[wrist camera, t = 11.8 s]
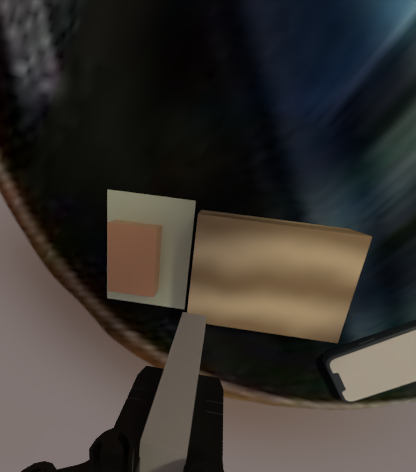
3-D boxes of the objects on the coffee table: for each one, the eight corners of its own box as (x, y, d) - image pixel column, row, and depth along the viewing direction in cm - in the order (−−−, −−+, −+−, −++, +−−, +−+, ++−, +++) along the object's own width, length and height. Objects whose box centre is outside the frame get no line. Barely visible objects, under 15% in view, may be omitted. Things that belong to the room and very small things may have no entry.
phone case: (433, 308, 27) (317, 351, 30) (447, 315, 26) (323, 360, 28) (449, 358, 29) (338, 395, 31) (463, 368, 27) (344, 406, 30)
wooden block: (201, 209, 26) (197, 213, 22) (348, 228, 25) (372, 236, 21) (191, 302, 29) (186, 320, 25) (321, 321, 28) (337, 343, 24)
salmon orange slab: (157, 228, 24) (162, 225, 26) (107, 222, 24) (115, 219, 26) (153, 297, 26) (158, 289, 28) (107, 291, 26) (115, 283, 28)
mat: (108, 189, 26) (107, 189, 25) (196, 200, 25) (195, 200, 25) (108, 296, 29) (107, 298, 29) (184, 308, 29) (184, 309, 29)
